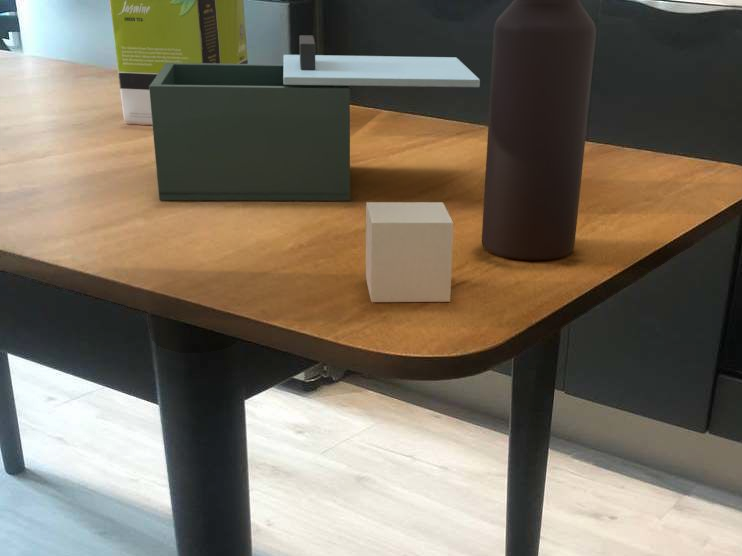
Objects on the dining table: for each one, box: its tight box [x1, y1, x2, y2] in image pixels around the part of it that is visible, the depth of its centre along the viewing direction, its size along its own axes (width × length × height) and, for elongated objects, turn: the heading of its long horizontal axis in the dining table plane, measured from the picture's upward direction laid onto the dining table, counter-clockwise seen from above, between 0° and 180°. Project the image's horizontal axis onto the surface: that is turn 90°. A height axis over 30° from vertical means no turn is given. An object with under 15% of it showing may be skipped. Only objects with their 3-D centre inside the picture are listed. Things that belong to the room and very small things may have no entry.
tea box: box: [108, 0, 249, 126], centre depth 119 cm, size 15×10×15 cm
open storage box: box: [149, 63, 351, 202], centre depth 93 cm, size 16×14×9 cm
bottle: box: [481, 0, 597, 262], centre depth 74 cm, size 7×7×20 cm
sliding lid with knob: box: [282, 34, 481, 88], centre depth 91 cm, size 16×14×3 cm
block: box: [365, 201, 455, 303], centre depth 69 cm, size 5×5×5 cm
